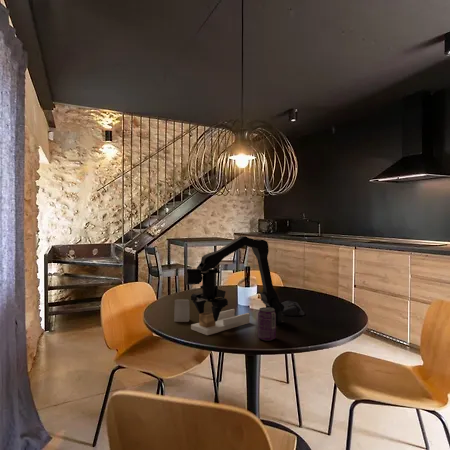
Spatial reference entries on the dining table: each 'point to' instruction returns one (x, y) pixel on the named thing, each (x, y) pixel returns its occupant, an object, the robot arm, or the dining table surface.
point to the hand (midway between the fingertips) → (208, 319)
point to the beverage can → (267, 324)
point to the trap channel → (223, 322)
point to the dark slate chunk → (292, 309)
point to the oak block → (206, 319)
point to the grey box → (181, 311)
